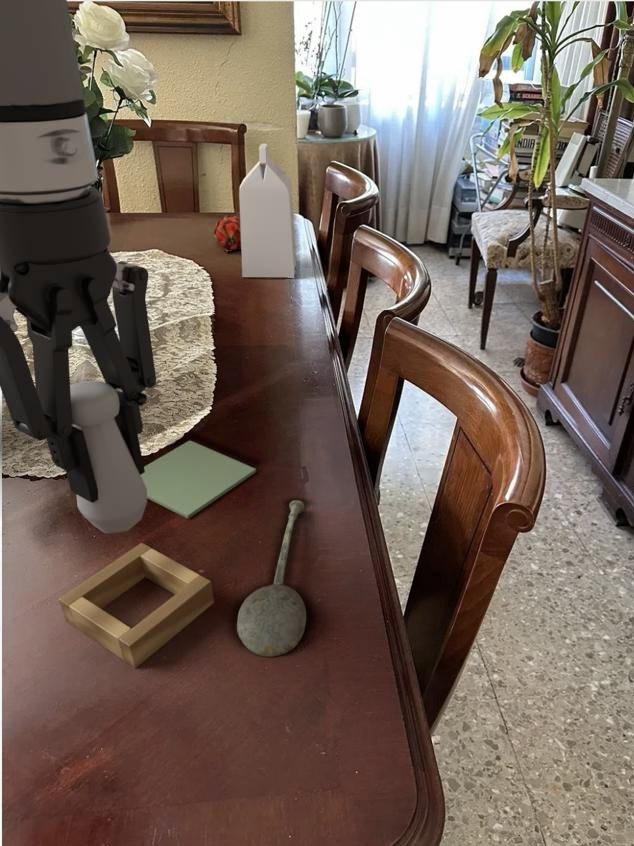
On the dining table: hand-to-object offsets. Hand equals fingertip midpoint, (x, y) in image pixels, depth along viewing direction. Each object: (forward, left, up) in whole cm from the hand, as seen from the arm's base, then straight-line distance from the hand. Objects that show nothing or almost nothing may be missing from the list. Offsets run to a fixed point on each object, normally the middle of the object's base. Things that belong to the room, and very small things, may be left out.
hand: (108, 481), depth 56 cm
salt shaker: (0, 0, -4) cm, 4 cm away
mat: (-13, +19, -16) cm, 28 cm away
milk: (-59, +89, -16) cm, 108 cm away
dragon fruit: (-77, +96, -16) cm, 124 cm away
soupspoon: (+8, +12, -16) cm, 22 cm away
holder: (0, 0, -16) cm, 16 cm away
